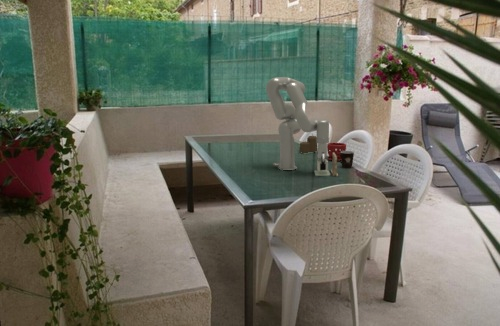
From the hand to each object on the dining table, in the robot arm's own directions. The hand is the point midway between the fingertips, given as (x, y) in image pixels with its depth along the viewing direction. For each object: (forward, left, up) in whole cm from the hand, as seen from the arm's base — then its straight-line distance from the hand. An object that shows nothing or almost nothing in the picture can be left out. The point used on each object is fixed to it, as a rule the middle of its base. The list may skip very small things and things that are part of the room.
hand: (322, 168), depth 264 cm
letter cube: (0, 0, -1) cm, 1 cm away
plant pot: (+13, +40, -3) cm, 42 cm away
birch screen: (+7, 0, -3) cm, 8 cm away
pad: (0, 0, -3) cm, 3 cm away
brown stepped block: (-5, +70, -4) cm, 70 cm away
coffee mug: (+16, +19, -3) cm, 25 cm away
